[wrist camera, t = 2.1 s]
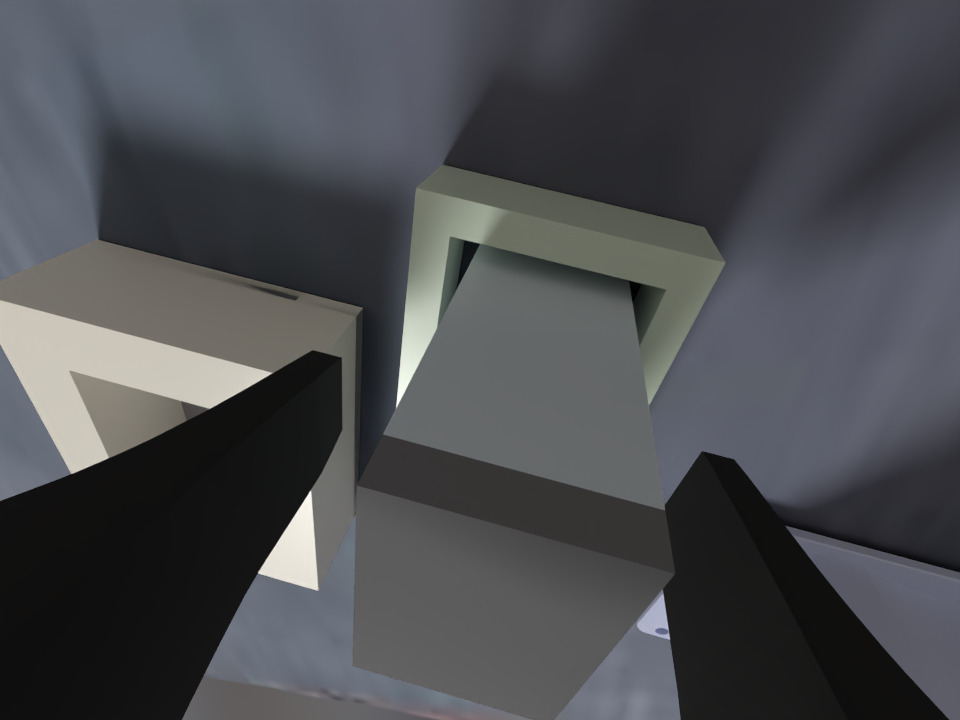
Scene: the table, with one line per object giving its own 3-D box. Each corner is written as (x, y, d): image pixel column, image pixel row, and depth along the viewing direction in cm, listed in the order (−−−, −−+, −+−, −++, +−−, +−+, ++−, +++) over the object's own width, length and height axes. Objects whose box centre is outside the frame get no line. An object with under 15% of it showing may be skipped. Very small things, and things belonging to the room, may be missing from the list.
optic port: (362, 307, 13) (297, 388, 10) (357, 509, 19) (314, 597, 16) (97, 239, 14) (-40, 297, 11) (170, 456, 20) (95, 533, 17)
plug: (626, 265, 11) (674, 573, 5) (567, 412, 14) (550, 724, 8) (486, 230, 11) (356, 485, 5) (457, 383, 14) (353, 665, 8)
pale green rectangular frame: (704, 227, 10) (725, 262, 9) (595, 453, 15) (596, 504, 13) (442, 164, 11) (416, 187, 9) (413, 404, 15) (392, 448, 14)
